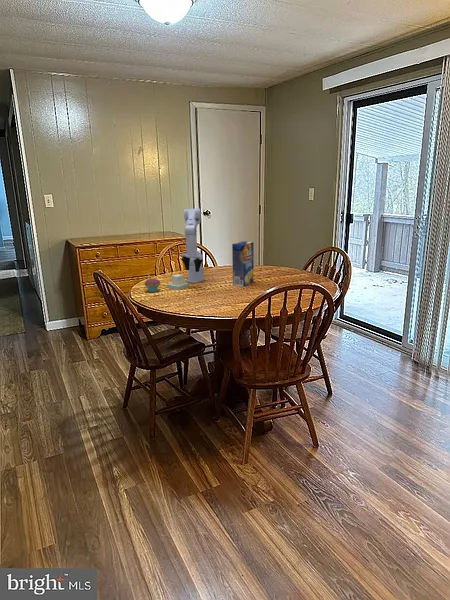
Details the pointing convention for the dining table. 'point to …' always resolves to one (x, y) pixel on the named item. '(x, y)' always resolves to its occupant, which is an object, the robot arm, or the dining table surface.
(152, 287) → the cupcake
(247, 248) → the juice carton
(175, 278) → the block
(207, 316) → the dining table surface
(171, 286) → the base
